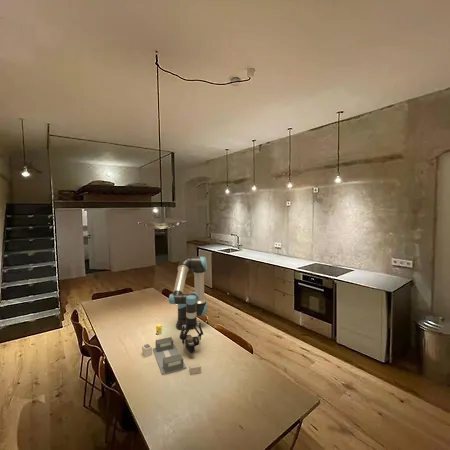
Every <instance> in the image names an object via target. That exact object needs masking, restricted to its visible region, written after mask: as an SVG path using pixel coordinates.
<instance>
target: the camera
mask: <svg viewBox="0 0 450 450" xmlns="http://www.w3.org/2000/svg"><path fill="white" fill-rule="evenodd" d="M197 346H200V345H199V338H198V335H196V336H193V335H191V334H187V335H186V337H185V350H186V351H188V353H189V354H194V353H195V351H196V349H195V348H196V347H197Z"/></svg>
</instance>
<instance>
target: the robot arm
mask: <svg viewBox="0 0 450 450" xmlns="http://www.w3.org/2000/svg"><path fill="white" fill-rule="evenodd" d="M189 270H190V271H191V270H192V273H193V275H194V279H193V280H194V292H191V293H184V291H185V290H184V289H185V284H186V279H187V275H188V272H189ZM207 270H208V260H207V258H206V256H201V255H200V256H195V255H194V256H190V255H189V256H185V257H183V259H181V260H180V262H179V263H178V266H177V273H176V279H175V284H174V288H173V293H170V294H169V297H168V302H169V304H170V305H177V321H176V323H175V328H176V329H177V330H178V331H180V334H179V339H180V340H181V343H182V345H183V349H184V350H186V348H185V337H186V335H188V333H189V332H190V331H191V330H195V332H196V334H197V337H198V338H199V345H198V346H200V345H201V342H200V341H201V340H202V336H203V335H204V332H203V329H202V324H201V322H200V321H198V320H197V317H204V316H206V315H207V311H208V304H209V303H208V302H207V300H206V299H205V273H206V271H207ZM197 326H198V328H197ZM198 329H199V330H198Z"/></svg>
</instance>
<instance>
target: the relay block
mask: <svg viewBox="0 0 450 450" xmlns="http://www.w3.org/2000/svg"><path fill="white" fill-rule="evenodd" d="M141 352H142V353H141V354H142V355H143V356H144V357H145V358H148V357H151V356H153V346H152V345H150V344H149V343H146V344H144V345H142V346H141Z"/></svg>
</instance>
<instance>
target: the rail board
mask: <svg viewBox="0 0 450 450" xmlns="http://www.w3.org/2000/svg"><path fill="white" fill-rule="evenodd" d="M152 352H153V353H154V356H155V359H156V361H157V364H158V367H159V369H160V373H161V375H162V376H163V375H167V374H170V373H174V372H178V371H183V370H187V366H186V364H185V361H184V358H183V356H182V354H181V353H179V351H178V348H176V345H175V344H174V340H173V338H172V336H170V337H164V338H159V339H155V347H152Z"/></svg>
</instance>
